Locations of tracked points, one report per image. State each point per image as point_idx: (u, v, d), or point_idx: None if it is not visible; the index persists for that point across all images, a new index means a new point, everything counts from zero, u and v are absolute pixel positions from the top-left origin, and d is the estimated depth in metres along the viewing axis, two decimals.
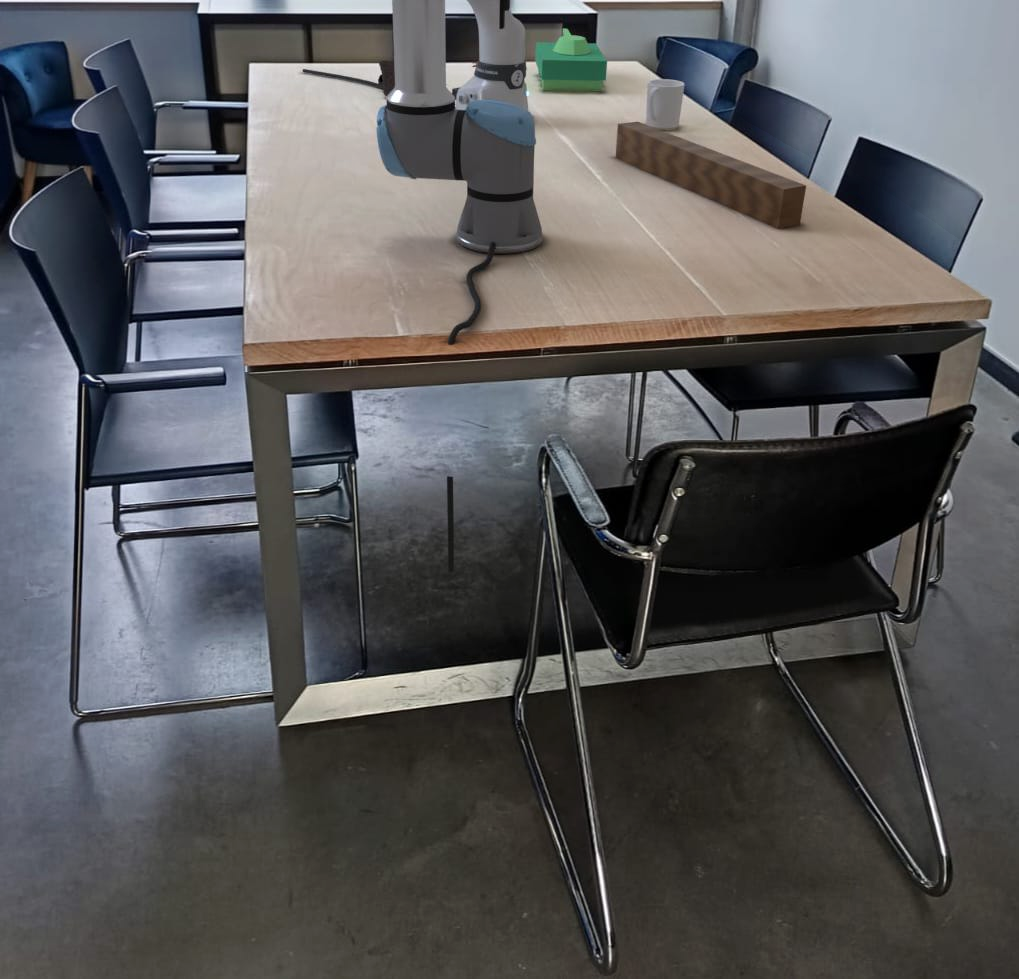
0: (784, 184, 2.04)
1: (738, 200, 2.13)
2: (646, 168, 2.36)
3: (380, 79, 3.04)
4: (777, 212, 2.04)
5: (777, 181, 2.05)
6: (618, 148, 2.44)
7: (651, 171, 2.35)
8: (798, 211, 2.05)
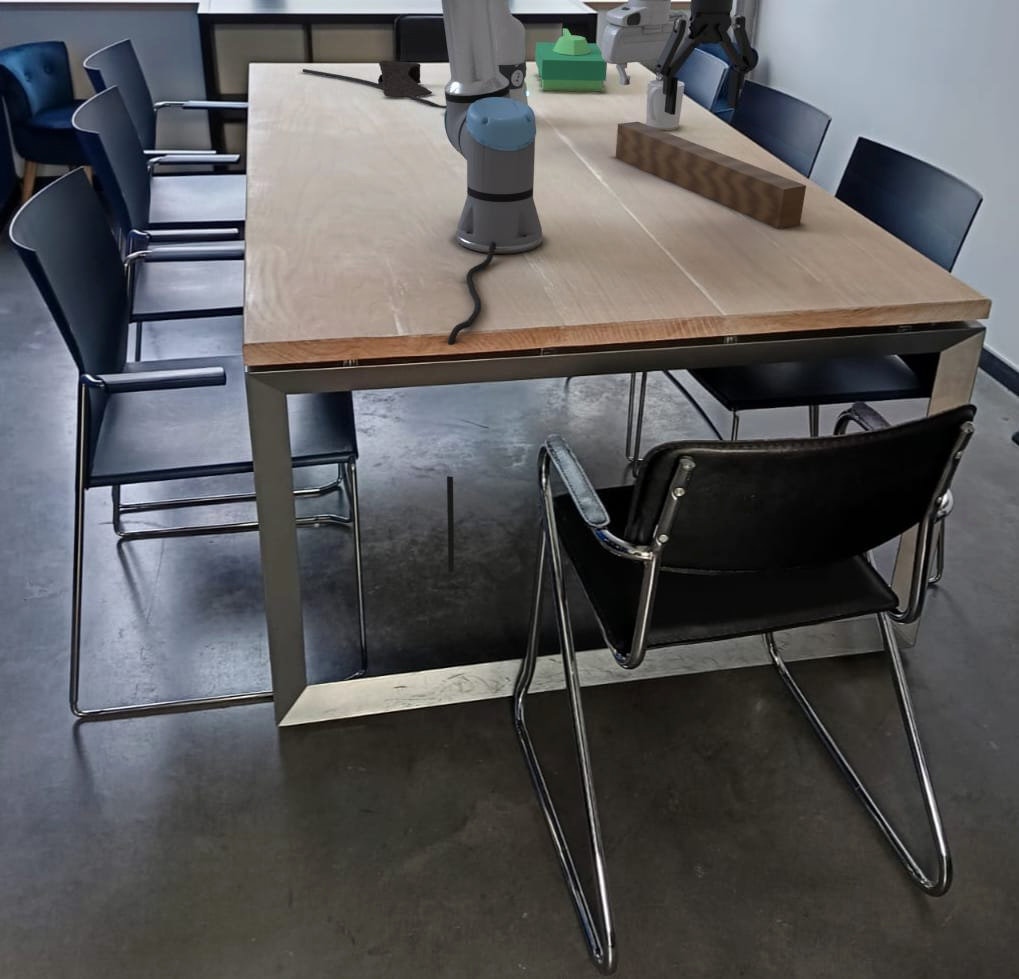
0: (784, 184, 2.04)
1: (738, 200, 2.13)
2: (646, 168, 2.36)
3: (380, 79, 3.04)
4: (777, 212, 2.04)
5: (777, 181, 2.05)
6: (618, 148, 2.44)
7: (651, 171, 2.35)
8: (798, 211, 2.05)
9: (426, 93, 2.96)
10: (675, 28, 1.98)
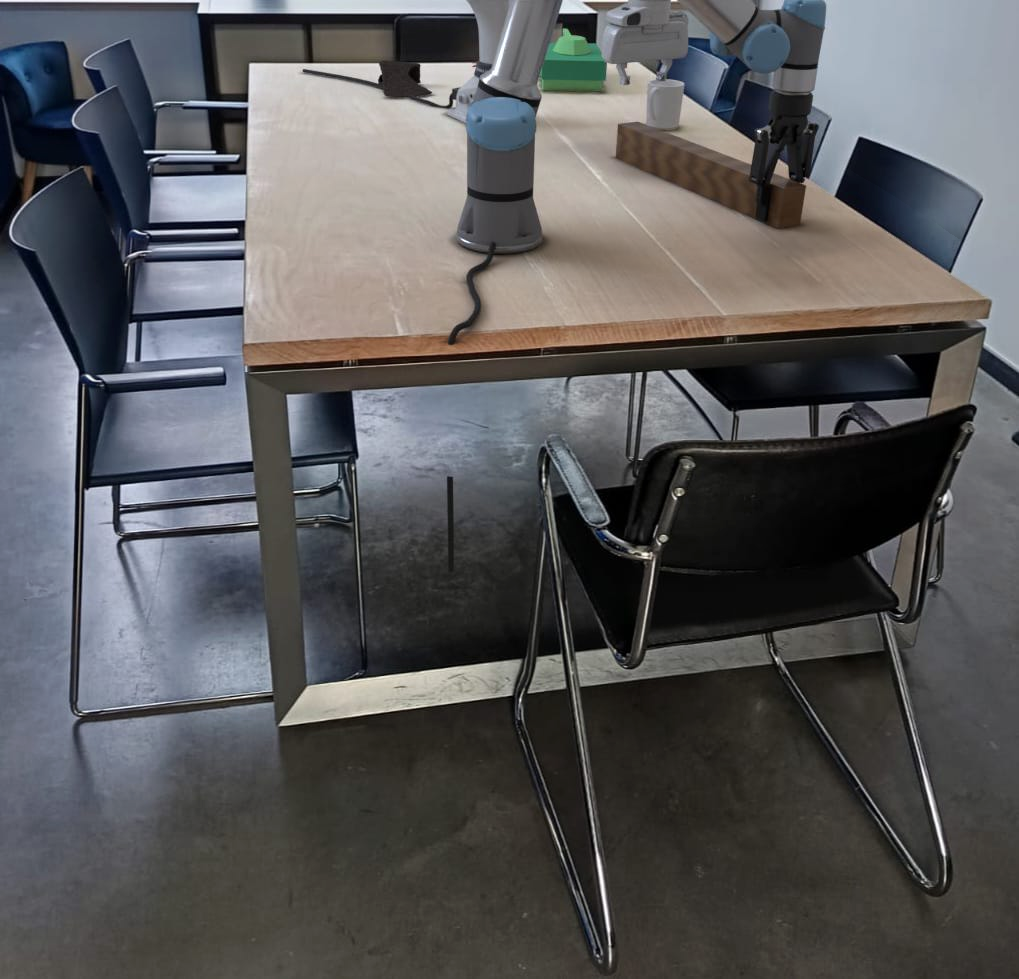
0: (784, 184, 2.04)
1: (738, 200, 2.13)
2: (646, 168, 2.36)
3: (380, 79, 3.04)
4: (777, 212, 2.04)
5: (777, 181, 2.05)
6: (618, 148, 2.44)
7: (651, 171, 2.35)
8: (798, 211, 2.05)
9: (426, 93, 2.96)
10: (758, 139, 1.99)
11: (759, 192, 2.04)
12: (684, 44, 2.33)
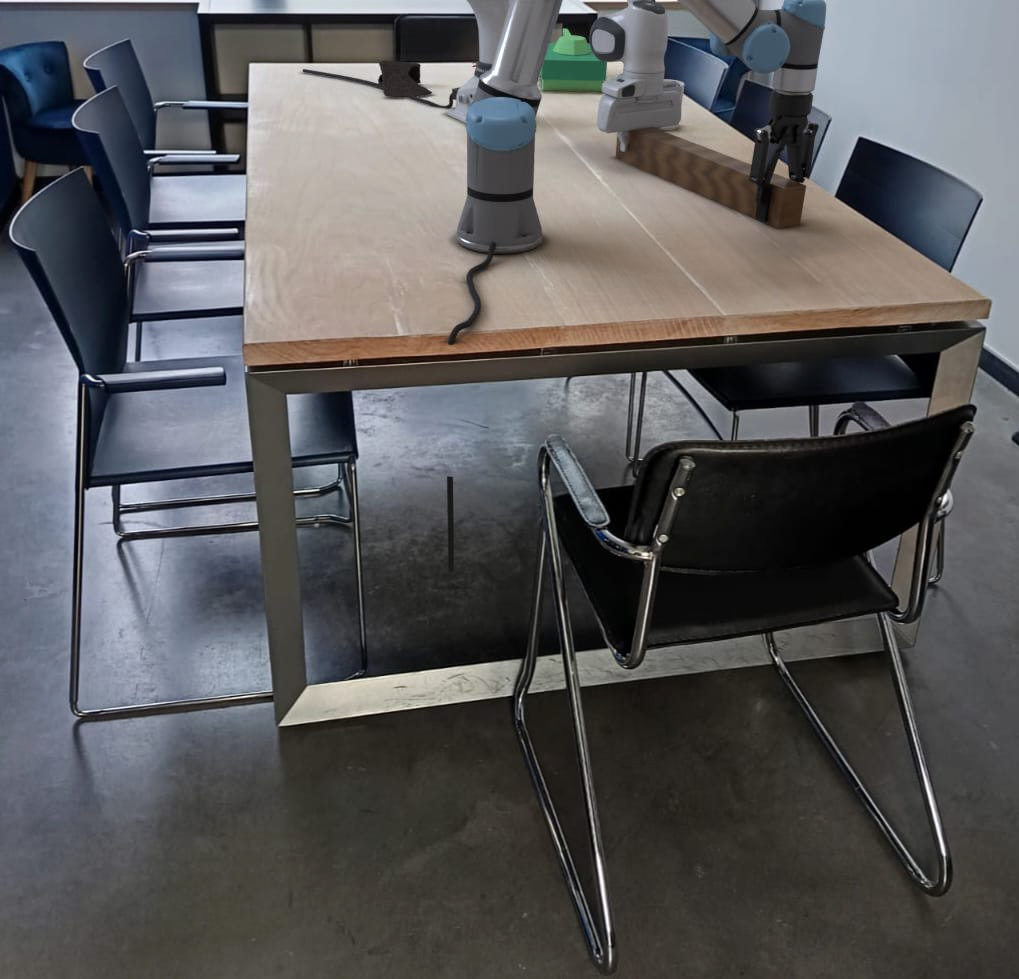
0: (784, 184, 2.04)
1: (738, 200, 2.13)
2: (646, 168, 2.36)
3: (380, 79, 3.04)
4: (777, 212, 2.04)
5: (777, 181, 2.05)
6: (618, 148, 2.44)
7: (651, 171, 2.35)
8: (798, 211, 2.05)
9: (426, 93, 2.96)
10: (758, 139, 1.99)
11: (759, 192, 2.04)
12: (677, 112, 2.40)
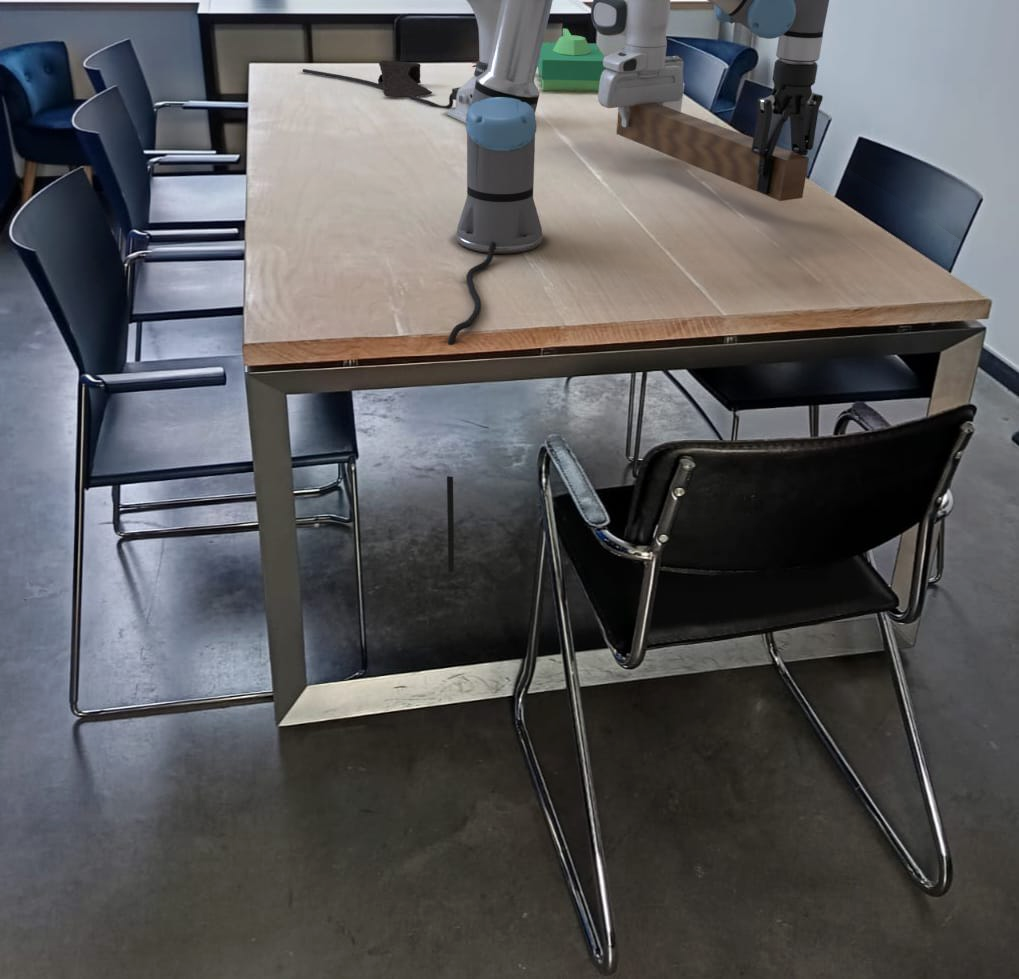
0: (787, 156, 2.01)
1: (740, 173, 2.10)
2: (647, 143, 2.34)
3: (380, 79, 3.04)
4: (779, 184, 2.01)
5: (779, 153, 2.03)
6: (619, 124, 2.41)
7: (652, 146, 2.32)
8: (800, 183, 2.03)
9: (426, 93, 2.96)
10: (761, 109, 1.96)
11: (761, 163, 2.01)
12: (679, 88, 2.38)
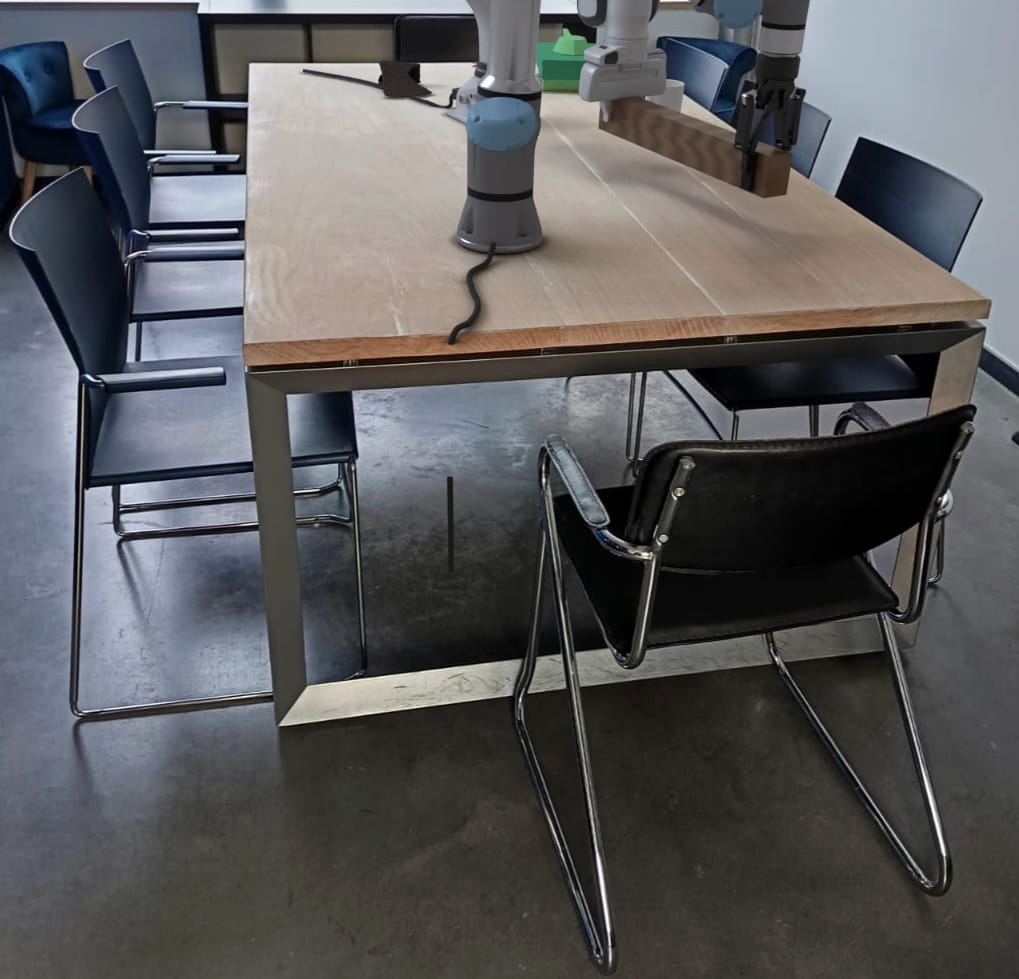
0: (770, 152, 1.95)
1: (723, 169, 2.04)
2: (629, 139, 2.28)
3: (380, 79, 3.04)
4: (762, 181, 1.96)
5: (762, 149, 1.97)
6: (601, 118, 2.35)
7: (634, 142, 2.27)
8: (784, 180, 1.97)
9: (426, 93, 2.96)
10: (743, 104, 1.90)
11: (744, 160, 1.96)
12: (662, 81, 2.32)
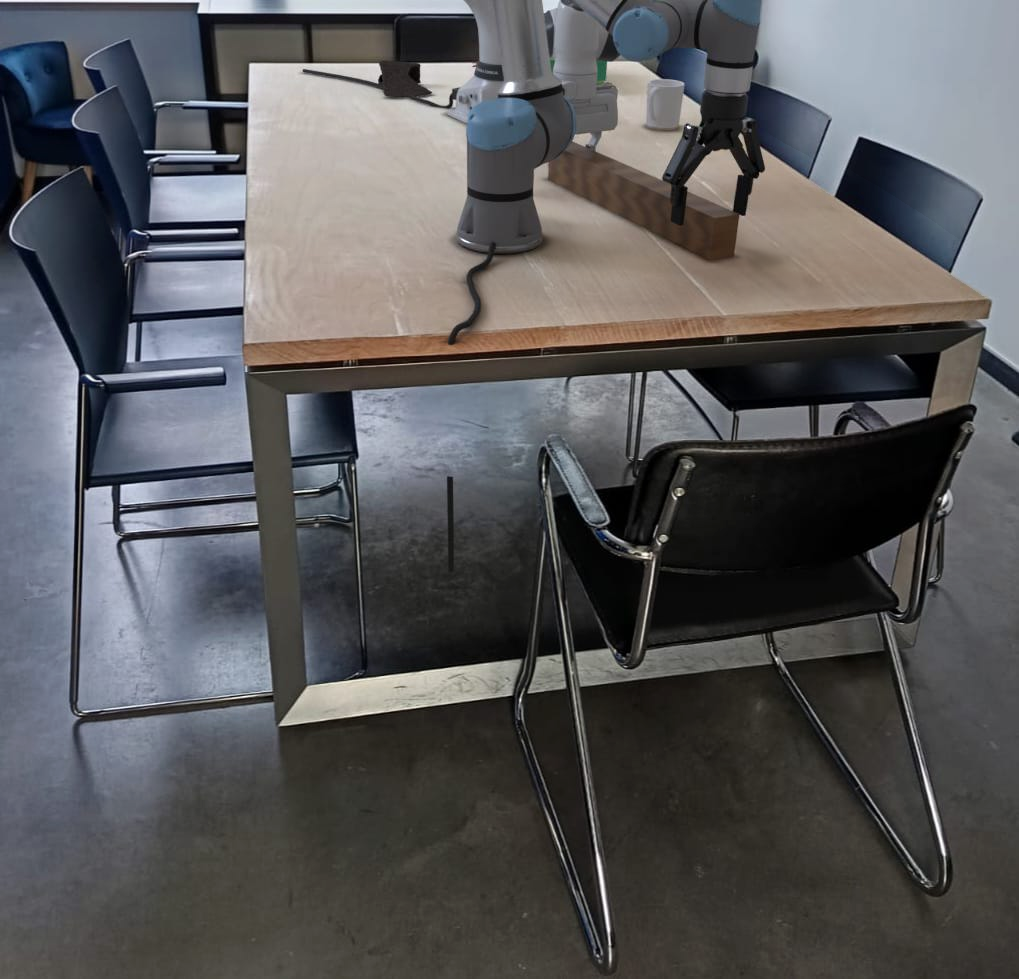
0: (716, 212, 1.88)
1: (669, 228, 1.97)
2: (578, 191, 2.20)
3: (380, 79, 3.04)
4: (708, 242, 1.88)
5: (708, 208, 1.89)
6: (550, 169, 2.28)
7: (583, 195, 2.19)
8: (731, 241, 1.89)
9: (426, 93, 2.96)
10: (685, 135, 1.80)
11: (673, 193, 1.84)
12: (613, 116, 2.23)
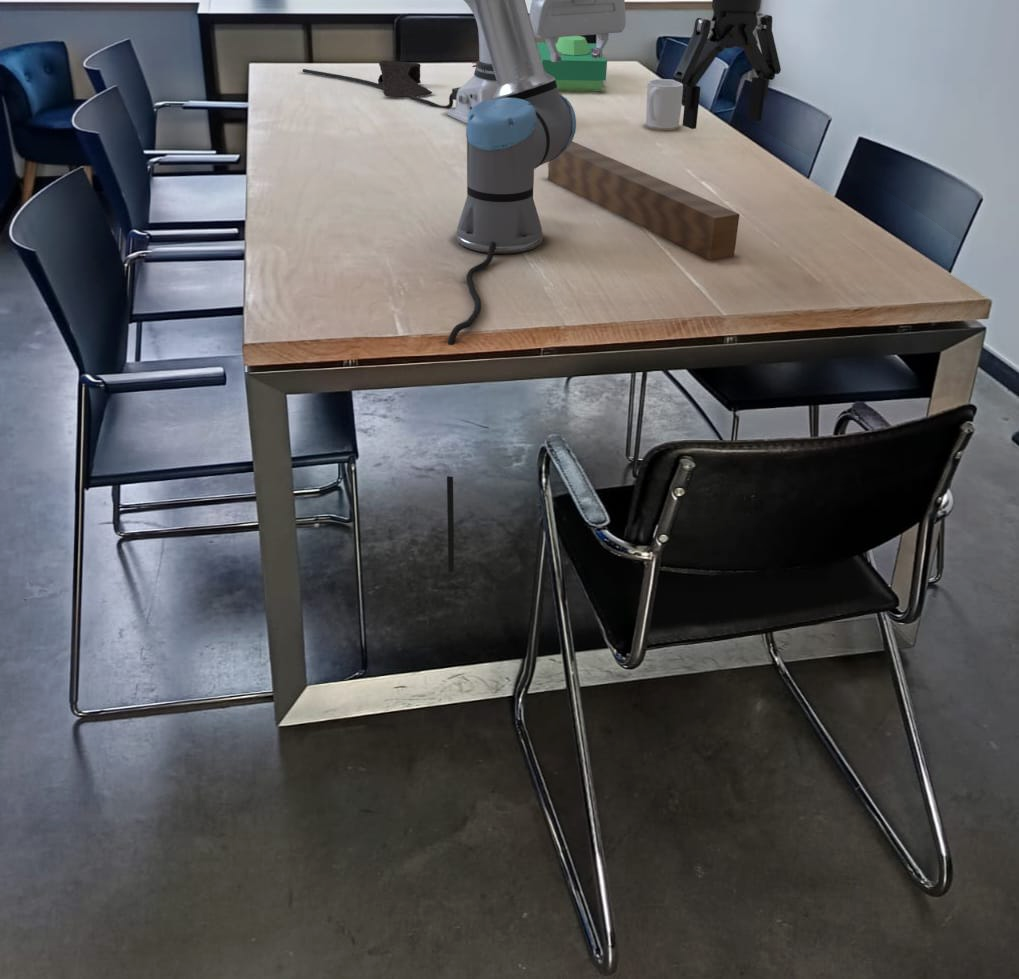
0: (716, 212, 1.88)
1: (669, 228, 1.97)
2: (578, 191, 2.20)
3: (380, 79, 3.04)
4: (708, 242, 1.88)
5: (708, 208, 1.89)
6: (550, 169, 2.28)
7: (583, 195, 2.19)
8: (731, 241, 1.89)
9: (426, 93, 2.96)
10: (697, 30, 1.71)
11: (685, 93, 1.75)
12: (621, 17, 2.13)
